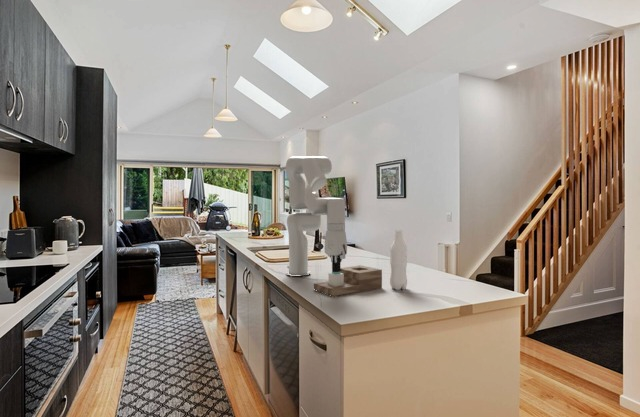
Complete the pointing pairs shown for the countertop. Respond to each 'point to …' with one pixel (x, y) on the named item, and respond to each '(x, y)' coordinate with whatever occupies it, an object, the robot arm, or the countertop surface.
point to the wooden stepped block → (353, 281)
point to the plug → (336, 279)
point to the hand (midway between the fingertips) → (336, 271)
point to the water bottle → (398, 262)
